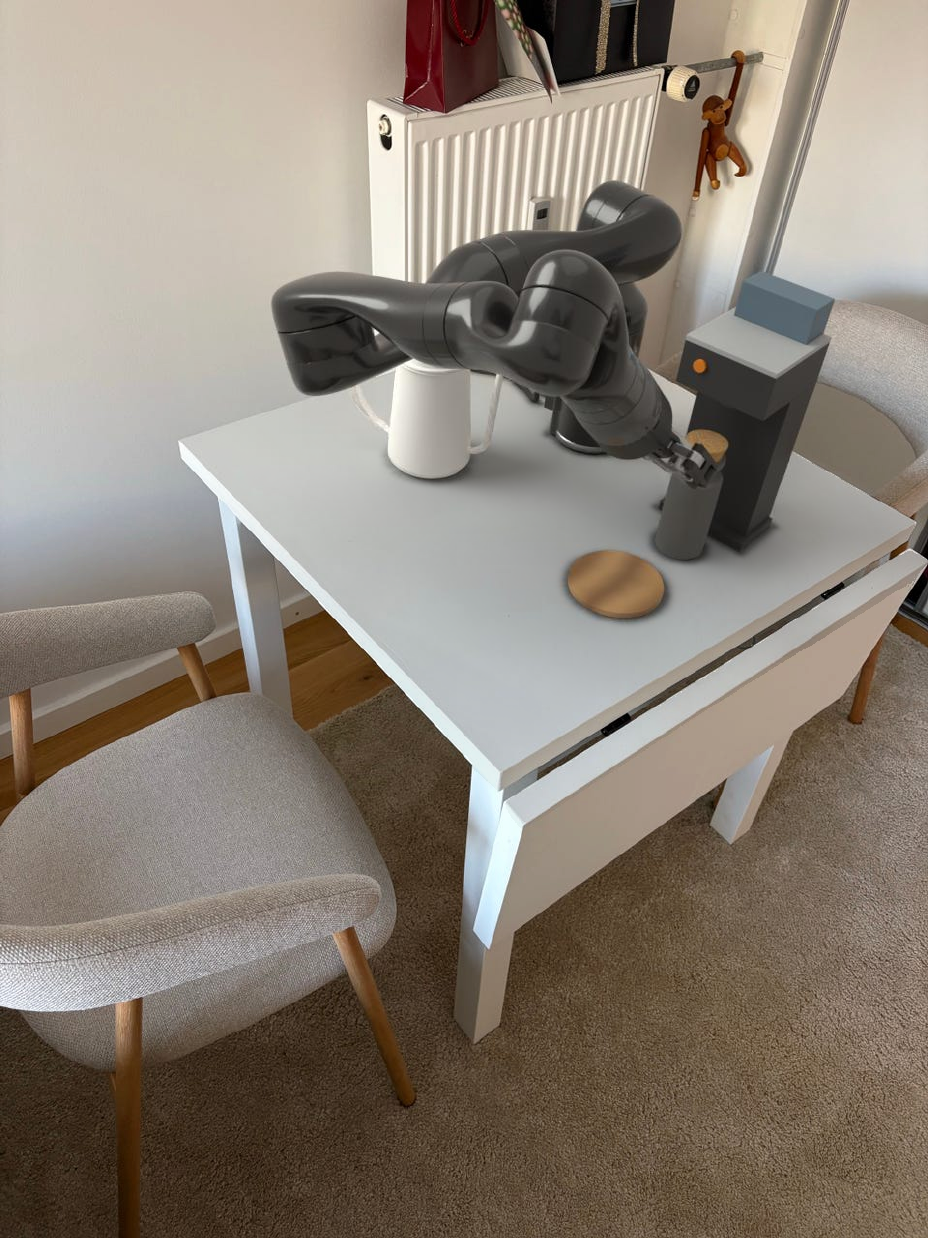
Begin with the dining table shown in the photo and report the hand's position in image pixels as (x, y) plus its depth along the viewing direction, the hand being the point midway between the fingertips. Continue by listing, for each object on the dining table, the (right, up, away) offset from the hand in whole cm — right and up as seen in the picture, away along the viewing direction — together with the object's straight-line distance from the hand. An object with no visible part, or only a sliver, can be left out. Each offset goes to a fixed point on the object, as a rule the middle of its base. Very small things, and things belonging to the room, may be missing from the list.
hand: (664, 462), depth 104 cm
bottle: (+5, -8, +16) cm, 19 cm away
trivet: (-4, -13, +10) cm, 17 cm away
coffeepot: (-25, +5, +26) cm, 37 cm away
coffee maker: (+9, -5, +20) cm, 22 cm away
